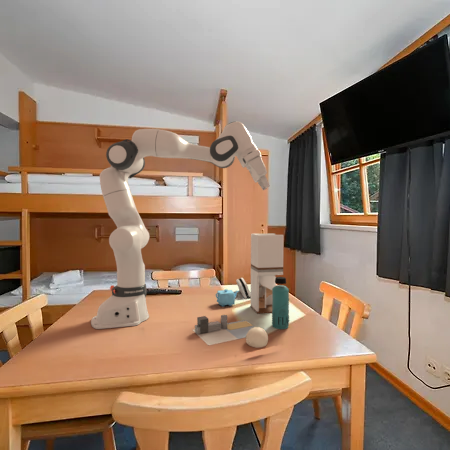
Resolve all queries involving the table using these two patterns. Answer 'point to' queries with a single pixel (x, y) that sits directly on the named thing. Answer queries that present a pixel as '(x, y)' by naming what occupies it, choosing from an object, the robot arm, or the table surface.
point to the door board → (226, 332)
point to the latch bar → (206, 325)
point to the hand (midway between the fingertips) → (266, 188)
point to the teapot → (226, 297)
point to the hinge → (243, 287)
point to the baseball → (257, 337)
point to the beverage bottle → (280, 304)
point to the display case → (265, 269)
